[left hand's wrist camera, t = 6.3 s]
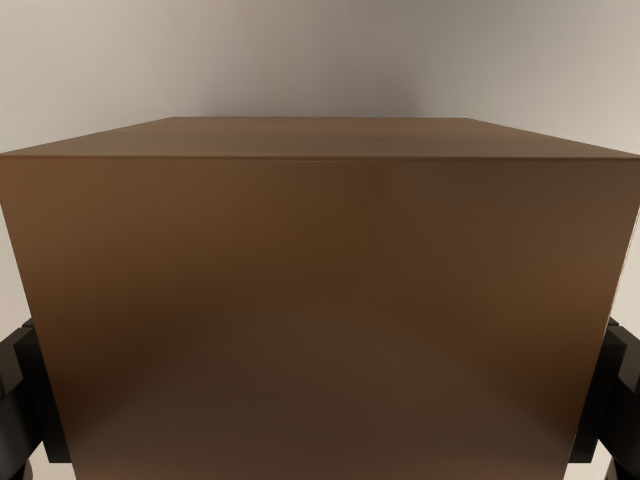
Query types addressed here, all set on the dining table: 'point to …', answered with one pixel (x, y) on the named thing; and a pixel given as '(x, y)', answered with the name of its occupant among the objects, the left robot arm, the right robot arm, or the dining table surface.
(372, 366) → the wooden square beam
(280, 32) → the dining table surface
